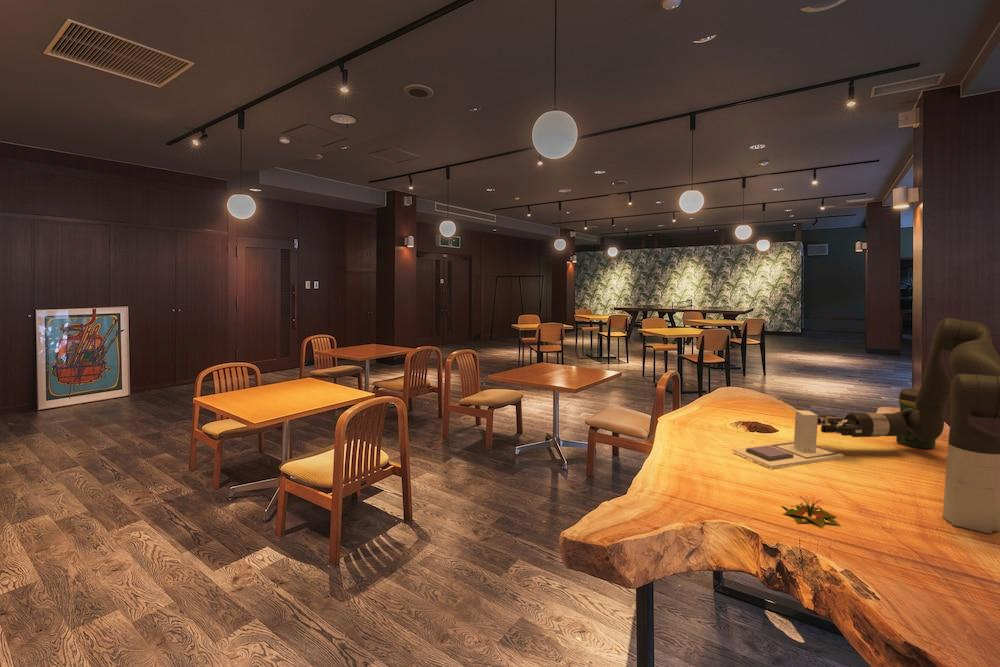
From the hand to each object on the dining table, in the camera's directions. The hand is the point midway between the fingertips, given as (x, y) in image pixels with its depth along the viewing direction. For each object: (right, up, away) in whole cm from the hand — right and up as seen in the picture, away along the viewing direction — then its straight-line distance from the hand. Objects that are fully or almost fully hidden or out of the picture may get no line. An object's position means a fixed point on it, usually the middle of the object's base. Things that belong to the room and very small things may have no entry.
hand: (813, 424), depth 154 cm
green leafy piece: (-27, -14, -41) cm, 51 cm away
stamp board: (-9, -9, -1) cm, 13 cm away
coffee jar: (+38, -8, +7) cm, 39 cm away
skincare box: (-2, -8, +1) cm, 9 cm away
